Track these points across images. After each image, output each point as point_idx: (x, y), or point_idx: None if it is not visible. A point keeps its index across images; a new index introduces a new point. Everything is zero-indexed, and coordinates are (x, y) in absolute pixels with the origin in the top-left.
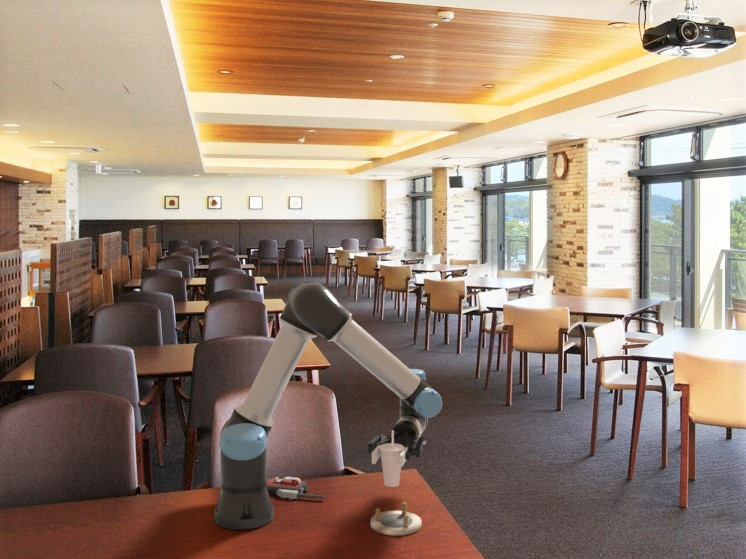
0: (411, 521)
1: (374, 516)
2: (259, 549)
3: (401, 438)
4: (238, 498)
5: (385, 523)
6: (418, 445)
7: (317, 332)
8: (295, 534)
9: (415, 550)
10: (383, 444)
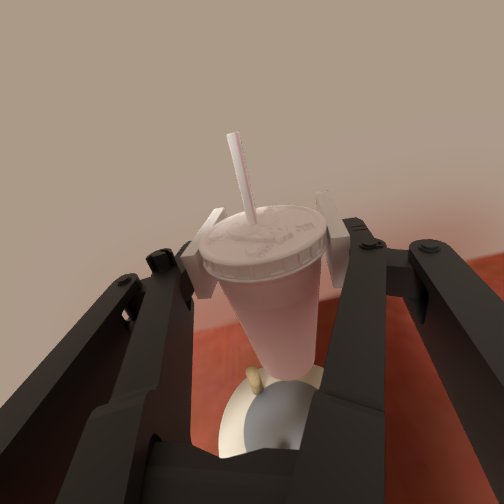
0: (246, 428)
1: None
2: (487, 263)
3: (186, 479)
4: None
5: (312, 396)
6: (106, 302)
7: None
8: None
9: (237, 325)
10: (313, 233)
